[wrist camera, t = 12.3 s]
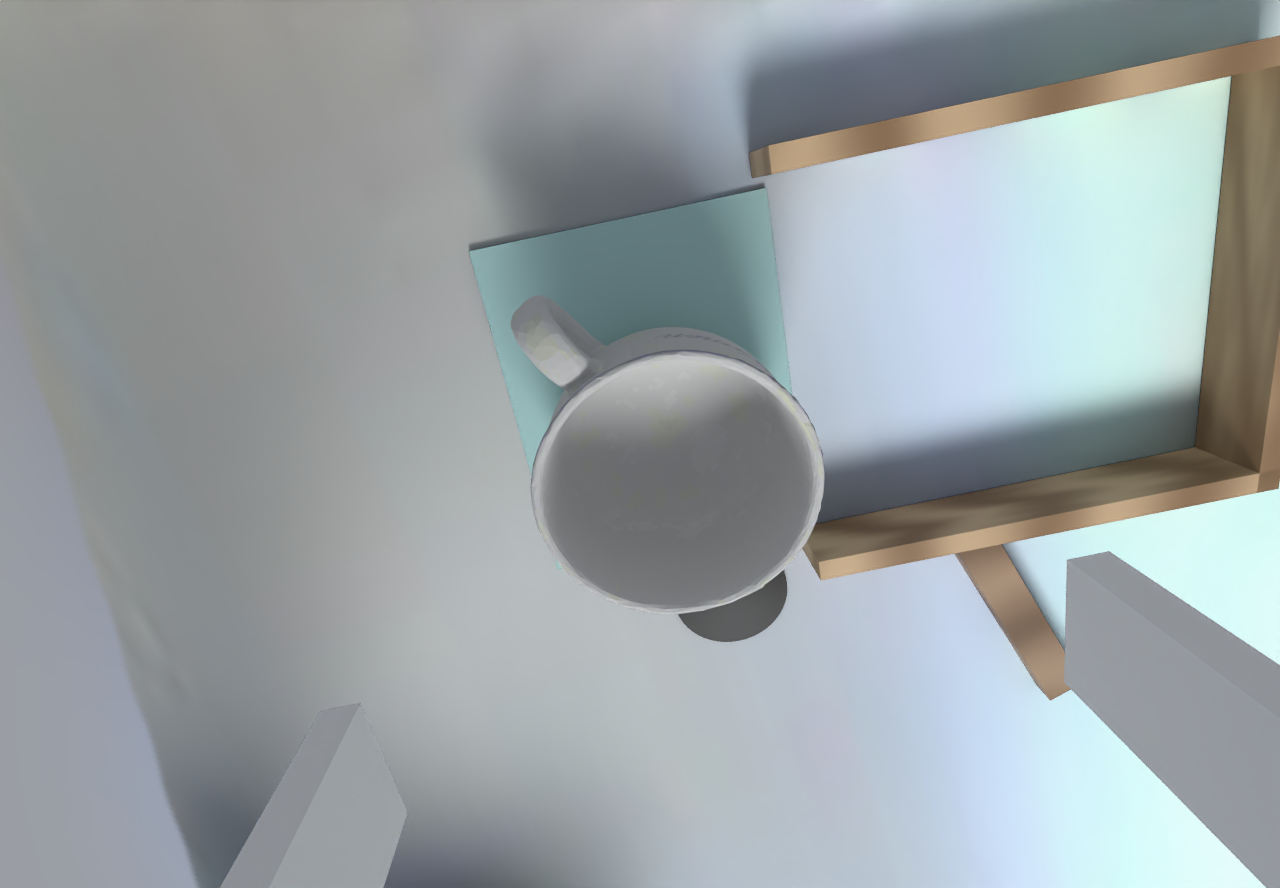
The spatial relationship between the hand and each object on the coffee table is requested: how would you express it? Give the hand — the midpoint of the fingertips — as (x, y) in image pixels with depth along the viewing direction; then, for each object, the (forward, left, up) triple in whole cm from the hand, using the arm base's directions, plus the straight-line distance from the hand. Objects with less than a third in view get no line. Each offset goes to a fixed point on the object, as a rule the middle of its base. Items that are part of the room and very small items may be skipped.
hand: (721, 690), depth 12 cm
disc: (+2, -11, -20) cm, 23 cm away
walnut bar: (+17, -16, -20) cm, 31 cm away
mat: (0, 0, -20) cm, 20 cm away
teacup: (0, 0, -20) cm, 20 cm away
